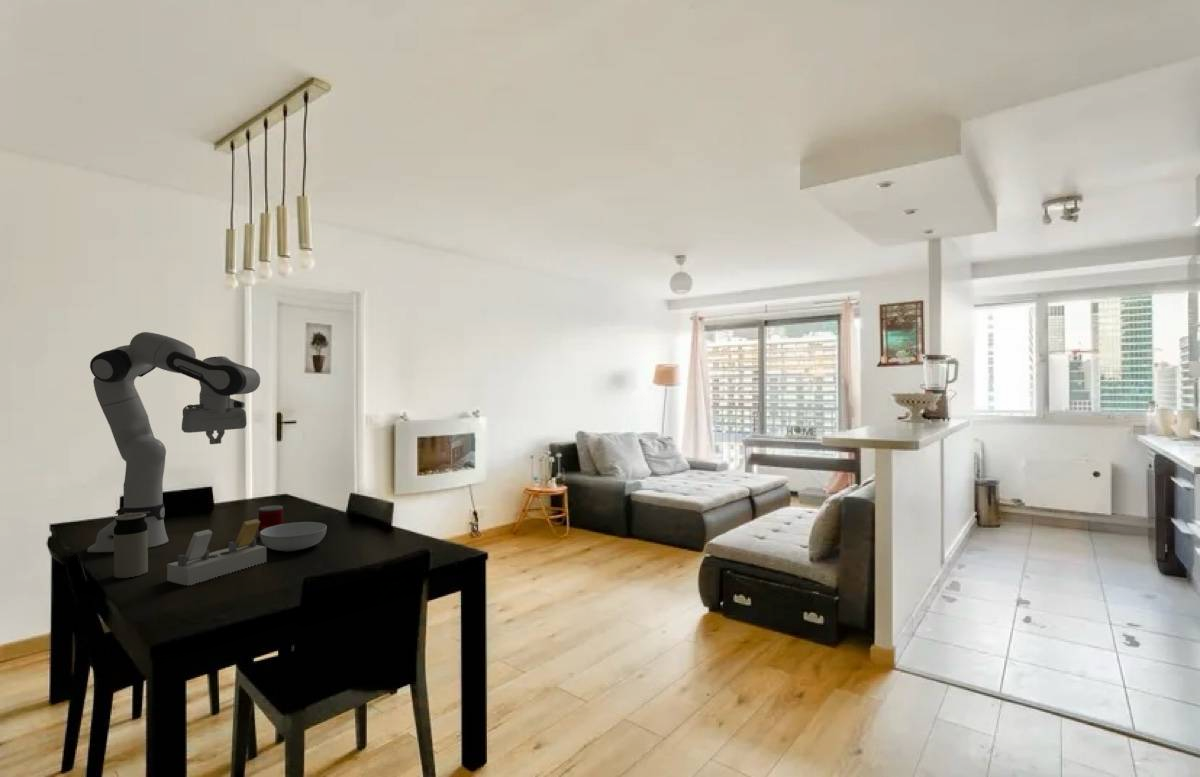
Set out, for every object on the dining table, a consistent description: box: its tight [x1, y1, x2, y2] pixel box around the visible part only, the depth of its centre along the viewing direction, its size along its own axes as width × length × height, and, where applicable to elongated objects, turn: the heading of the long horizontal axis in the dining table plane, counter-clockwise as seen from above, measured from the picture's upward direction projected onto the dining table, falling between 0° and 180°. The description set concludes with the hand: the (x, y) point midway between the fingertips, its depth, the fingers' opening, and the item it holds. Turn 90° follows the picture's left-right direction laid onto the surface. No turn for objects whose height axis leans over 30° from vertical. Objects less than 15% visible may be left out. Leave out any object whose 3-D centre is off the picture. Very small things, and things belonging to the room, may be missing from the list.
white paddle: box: [185, 529, 213, 562], centre depth 173 cm, size 2×5×10 cm
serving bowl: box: [259, 521, 328, 552], centre depth 206 cm, size 21×21×7 cm
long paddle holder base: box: [166, 536, 267, 587], centre depth 180 cm, size 10×24×8 cm, turn 156°
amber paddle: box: [235, 518, 260, 548], centre depth 186 cm, size 2×5×10 cm
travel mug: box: [113, 513, 149, 579], centre depth 177 cm, size 8×8×18 cm
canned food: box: [258, 504, 284, 538], centre depth 221 cm, size 8×8×11 cm
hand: (215, 443), depth 201 cm, fingers closed
